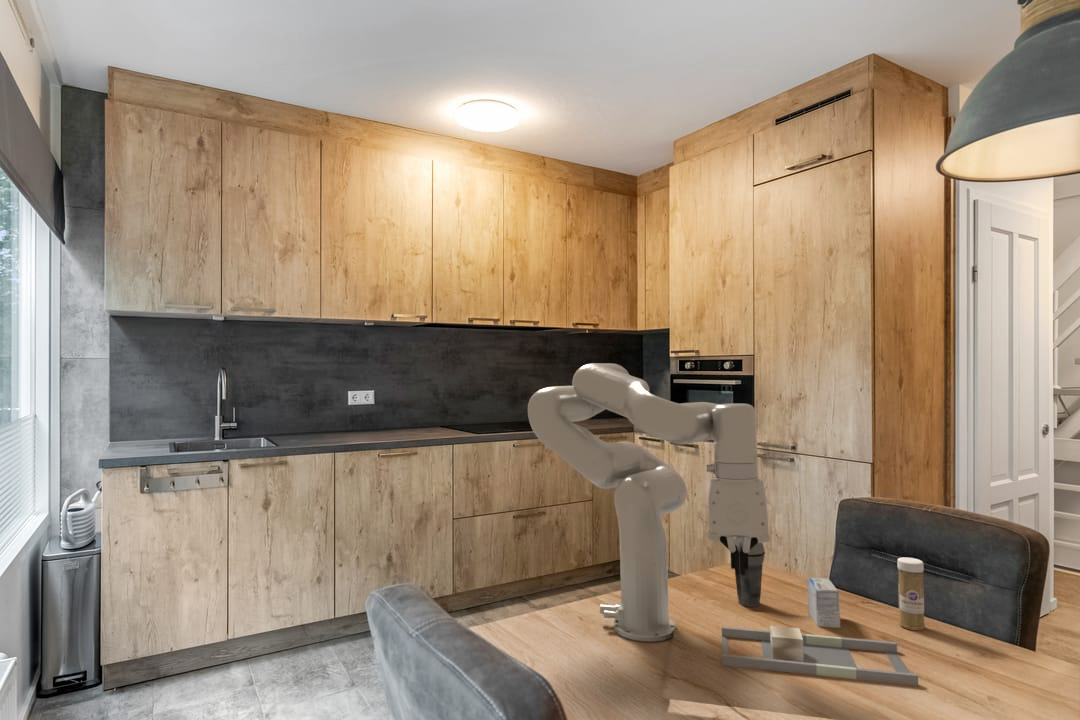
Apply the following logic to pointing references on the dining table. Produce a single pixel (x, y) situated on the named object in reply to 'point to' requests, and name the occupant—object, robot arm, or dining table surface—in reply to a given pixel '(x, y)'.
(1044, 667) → the dining table surface
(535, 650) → the dining table surface
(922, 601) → the sprinkles bottle
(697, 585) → the dining table surface
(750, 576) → the beverage cup
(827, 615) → the medicine box
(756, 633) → the track
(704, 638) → the dining table surface
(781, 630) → the cream block
